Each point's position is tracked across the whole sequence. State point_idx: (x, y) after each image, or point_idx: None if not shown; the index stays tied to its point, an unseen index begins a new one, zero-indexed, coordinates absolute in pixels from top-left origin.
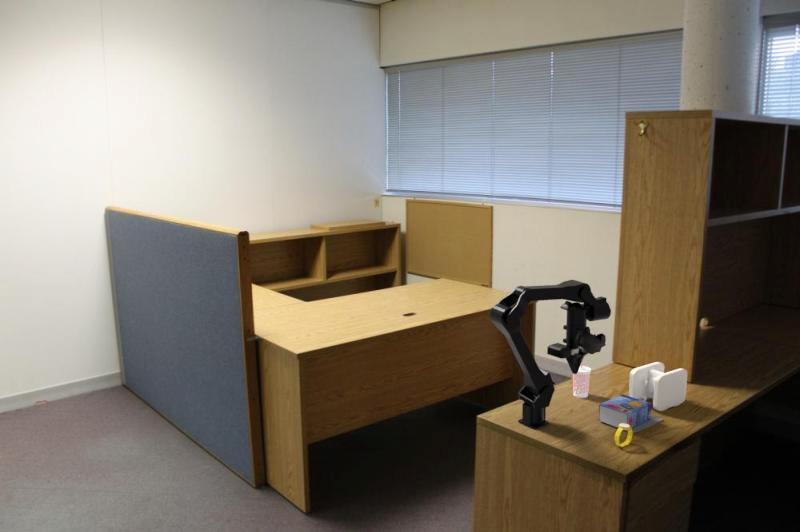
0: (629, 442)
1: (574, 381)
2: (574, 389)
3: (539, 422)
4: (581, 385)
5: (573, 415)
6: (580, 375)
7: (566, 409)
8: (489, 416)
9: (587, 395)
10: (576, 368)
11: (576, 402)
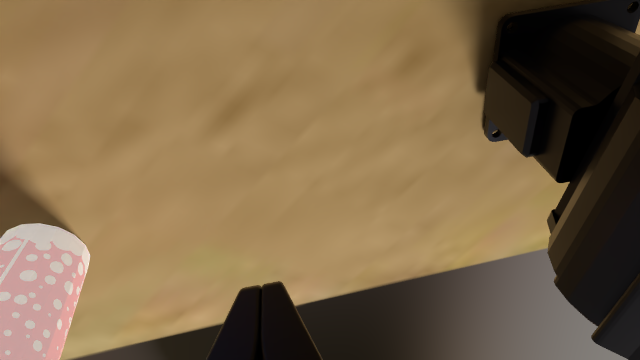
0: None
1: (64, 329)
2: (79, 285)
3: (593, 18)
4: (31, 288)
5: (267, 47)
6: (10, 356)
7: (248, 138)
8: None
9: (8, 232)
10: (284, 356)
11: (127, 190)
